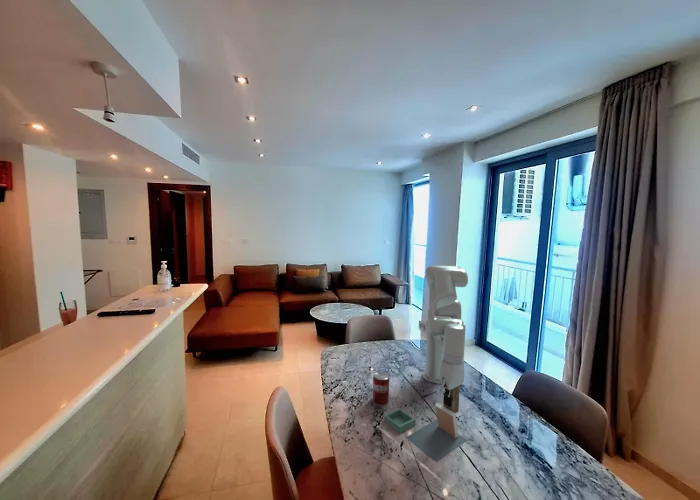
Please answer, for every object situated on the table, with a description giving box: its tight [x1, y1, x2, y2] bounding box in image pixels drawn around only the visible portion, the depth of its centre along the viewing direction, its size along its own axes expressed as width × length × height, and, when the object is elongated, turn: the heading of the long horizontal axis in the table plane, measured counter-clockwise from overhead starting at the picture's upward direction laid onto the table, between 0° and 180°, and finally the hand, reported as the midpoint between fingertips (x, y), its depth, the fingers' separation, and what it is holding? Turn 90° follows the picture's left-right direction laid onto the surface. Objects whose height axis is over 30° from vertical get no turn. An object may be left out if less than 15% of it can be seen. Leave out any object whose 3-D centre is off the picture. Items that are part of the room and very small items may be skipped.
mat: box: [405, 419, 468, 463], centre depth 109 cm, size 18×14×1 cm
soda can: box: [372, 372, 390, 407], centre depth 132 cm, size 7×7×12 cm
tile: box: [434, 402, 459, 438], centre depth 112 cm, size 2×8×10 cm, turn 36°
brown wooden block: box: [442, 385, 461, 415], centre depth 112 cm, size 4×4×12 cm
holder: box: [384, 407, 416, 434], centre depth 117 cm, size 9×9×3 cm
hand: (451, 402), depth 113 cm, fingers closed on brown wooden block, 4 cm apart
